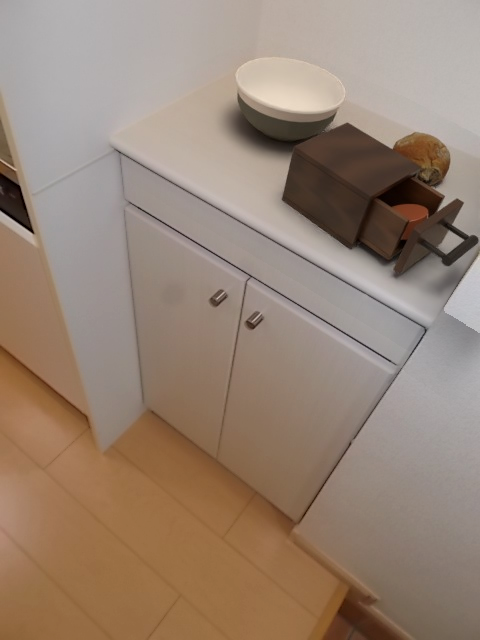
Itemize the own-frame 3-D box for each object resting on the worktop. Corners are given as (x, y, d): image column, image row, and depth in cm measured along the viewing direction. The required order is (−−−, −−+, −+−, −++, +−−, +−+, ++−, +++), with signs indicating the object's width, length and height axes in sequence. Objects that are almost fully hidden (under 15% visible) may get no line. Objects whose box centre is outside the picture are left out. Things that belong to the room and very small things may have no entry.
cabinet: (398, 217, 80) (421, 166, 73) (350, 249, 74) (370, 196, 67) (331, 173, 85) (347, 122, 79) (281, 199, 79) (293, 146, 72)
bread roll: (438, 191, 92) (461, 146, 89) (433, 195, 84) (459, 146, 80) (386, 169, 95) (407, 125, 91) (376, 171, 86) (399, 122, 83)
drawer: (469, 261, 74) (495, 221, 68) (428, 295, 68) (452, 254, 63) (374, 198, 81) (390, 157, 75) (329, 224, 75) (343, 182, 70)
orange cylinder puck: (398, 218, 76) (397, 201, 75) (436, 224, 72) (436, 207, 71) (374, 235, 73) (373, 217, 72) (413, 242, 69) (413, 224, 68)
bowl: (293, 94, 101) (303, 51, 95) (354, 145, 92) (369, 101, 86) (210, 110, 93) (214, 64, 87) (267, 168, 84) (276, 120, 78)
